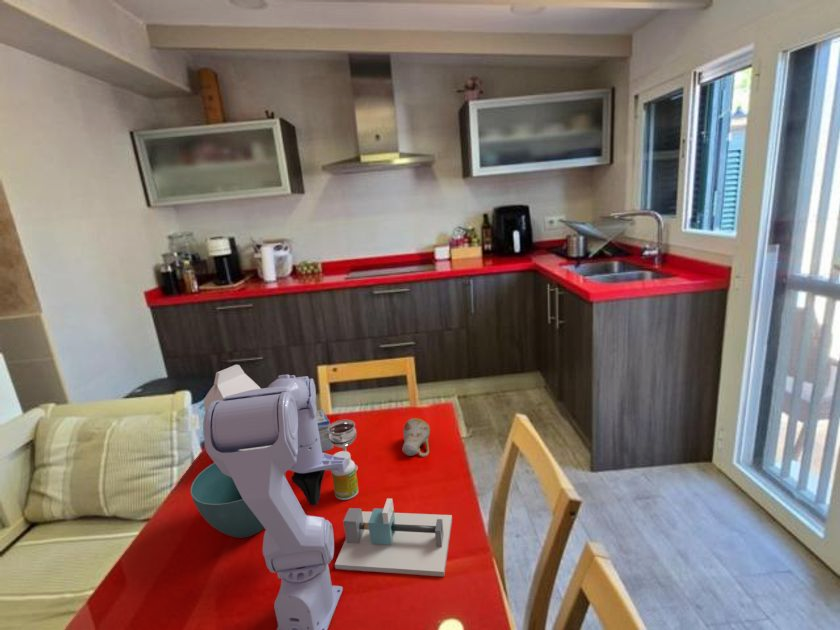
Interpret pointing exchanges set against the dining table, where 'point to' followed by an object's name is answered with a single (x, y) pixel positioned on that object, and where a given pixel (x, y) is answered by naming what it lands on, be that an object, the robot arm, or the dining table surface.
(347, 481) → the supplement bottle
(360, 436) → the dining table surface
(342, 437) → the wineglass
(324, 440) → the medicine box
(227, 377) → the milk
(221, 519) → the teal bowl
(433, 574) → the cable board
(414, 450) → the mug
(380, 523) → the slider block
